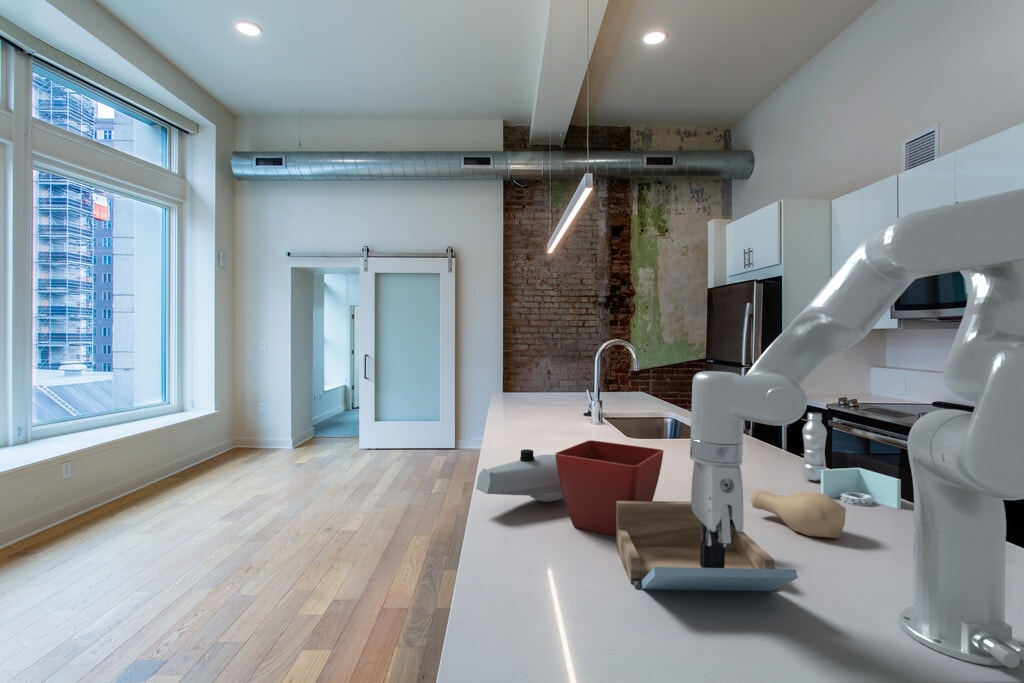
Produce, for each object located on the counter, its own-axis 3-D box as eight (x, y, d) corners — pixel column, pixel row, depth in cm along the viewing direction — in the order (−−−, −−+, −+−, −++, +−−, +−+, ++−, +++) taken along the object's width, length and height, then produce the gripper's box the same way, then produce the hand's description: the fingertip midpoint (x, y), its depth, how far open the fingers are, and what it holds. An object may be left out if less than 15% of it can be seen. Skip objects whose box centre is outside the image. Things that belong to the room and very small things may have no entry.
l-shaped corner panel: (820, 497, 135) (820, 469, 135) (858, 495, 137) (859, 467, 137) (859, 512, 123) (859, 482, 123) (900, 509, 125) (900, 479, 125)
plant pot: (664, 520, 117) (665, 448, 117) (636, 549, 101) (636, 465, 101) (589, 505, 127) (589, 439, 127) (552, 529, 111) (553, 453, 111)
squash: (829, 549, 101) (829, 505, 101) (739, 519, 118) (739, 480, 118) (856, 538, 106) (857, 496, 106) (767, 511, 123) (767, 474, 123)
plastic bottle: (805, 482, 148) (805, 414, 148) (799, 476, 155) (799, 411, 155) (830, 484, 146) (830, 415, 146) (823, 477, 153) (823, 412, 153)
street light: (555, 486, 143) (555, 438, 143) (594, 501, 131) (594, 447, 131) (464, 508, 125) (464, 452, 125) (500, 527, 113) (500, 465, 113)
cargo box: (779, 594, 83) (779, 534, 83) (633, 592, 84) (633, 532, 84) (738, 552, 99) (738, 502, 99) (616, 550, 100) (616, 500, 100)
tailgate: (769, 591, 83) (798, 578, 74) (641, 589, 84) (655, 575, 75) (767, 583, 84) (795, 569, 75) (640, 581, 85) (654, 567, 76)
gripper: (762, 464, 70) (758, 595, 70) (722, 442, 85) (718, 549, 85) (708, 462, 70) (703, 592, 71) (677, 440, 85) (673, 547, 86)
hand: (711, 568), depth 78 cm, fingers closed
